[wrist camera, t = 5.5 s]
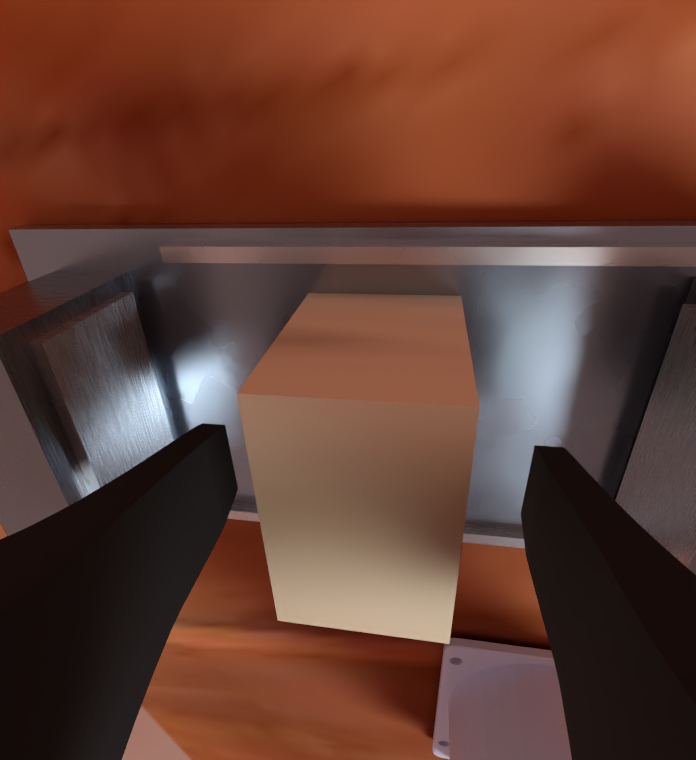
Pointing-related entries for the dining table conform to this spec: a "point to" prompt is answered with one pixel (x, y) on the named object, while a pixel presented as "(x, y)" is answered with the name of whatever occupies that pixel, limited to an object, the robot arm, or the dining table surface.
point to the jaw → (668, 448)
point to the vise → (278, 304)
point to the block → (364, 461)
